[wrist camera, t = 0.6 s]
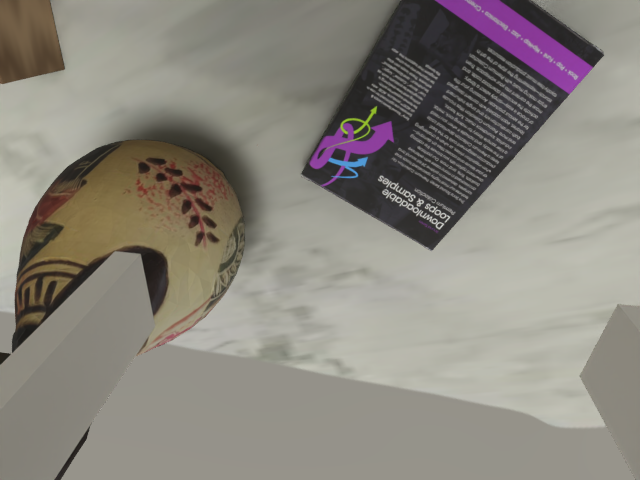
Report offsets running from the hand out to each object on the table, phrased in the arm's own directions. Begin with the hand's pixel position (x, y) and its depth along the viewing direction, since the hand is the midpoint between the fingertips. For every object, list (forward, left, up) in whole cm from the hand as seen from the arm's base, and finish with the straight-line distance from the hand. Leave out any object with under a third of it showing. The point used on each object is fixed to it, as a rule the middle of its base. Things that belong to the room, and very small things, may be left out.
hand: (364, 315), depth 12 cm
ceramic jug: (+10, -16, -27) cm, 33 cm away
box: (0, +5, -27) cm, 28 cm away
